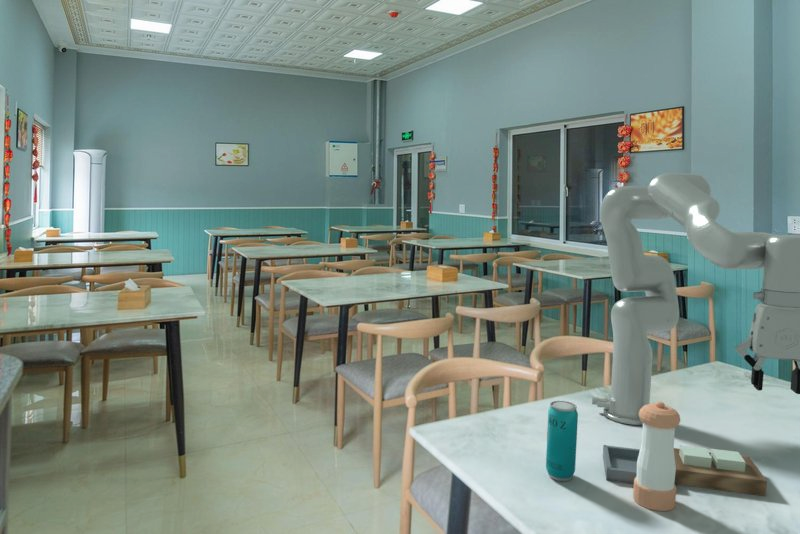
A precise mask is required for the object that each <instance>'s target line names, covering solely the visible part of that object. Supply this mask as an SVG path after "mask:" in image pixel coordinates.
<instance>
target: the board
mask: <svg viewBox="0 0 800 534" xmlns="http://www.w3.org/2000/svg"><path fill="white" fill-rule="evenodd" d="M679 449H680V448H675V447H674V457H675V467H676V472H675V478H676V479H675V485H681V486H688V487H695V488H702V489H710V490H717V491H726V492H733V493H741V494H748V495H756V496H763V497H766V495H767V487H768V486H767V485H768V480H767V479H766V478H765V476H764V475H763V473H762V472H761V471H760V469H759V468H758V466H757V465H756V464H755V463H754V461H753V460H752V458H751V457H750V456H744V455H741V456H742V458H743V459H744V461H745V462H746V463H745V472H741V471H733V470H725V469H717V468H716V466H715V465H714V463H713V461H712V463H711V468H709V467H701V466H693V465H685V464H683V462H682V459H681V457H680V455H679ZM708 452H709V451H708ZM709 454H710V456H711V451H710V452H709Z"/></svg>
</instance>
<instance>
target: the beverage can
mask: <svg viewBox="0 0 800 534" xmlns="http://www.w3.org/2000/svg"><path fill="white" fill-rule="evenodd" d="M549 405H550V407H549V408H548V412H547V413H548V415H547V432H546V434H547V435H546V452H545V453H546V455H545V456H546V457H545V458H546V459H545V468H546V472H547V474H548V476H549V477H550V478H551V479H552V480H555V481H558V482H567V481H568V482H569V481H571V479H572V478H573V476H574V474H575V472H576V461H577V460H576V459H577V441H578V440H577V439H578V417H579V413H578V410H577V404H575V403H573V402H570V401H566V400H555V401H550V404H549Z"/></svg>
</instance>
